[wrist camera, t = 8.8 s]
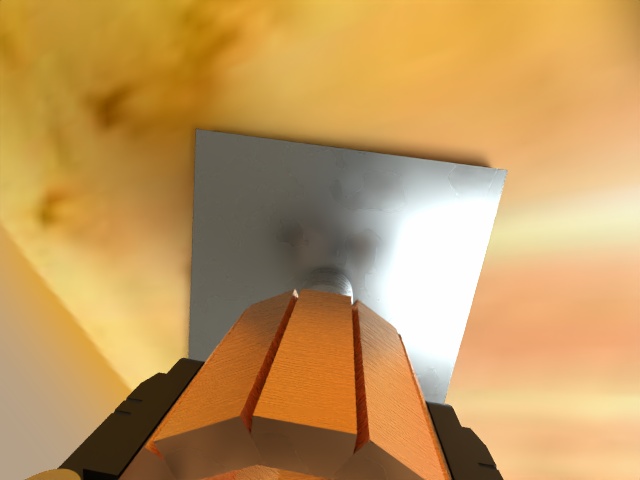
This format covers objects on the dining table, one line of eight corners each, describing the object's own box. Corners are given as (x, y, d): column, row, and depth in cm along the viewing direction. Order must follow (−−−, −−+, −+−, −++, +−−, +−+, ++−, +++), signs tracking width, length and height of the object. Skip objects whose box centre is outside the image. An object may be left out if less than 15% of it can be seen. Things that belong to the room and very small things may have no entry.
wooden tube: (223, 275, 9) (92, 386, 5) (433, 309, 9) (534, 467, 4) (212, 444, 11) (106, 661, 6) (392, 478, 11) (432, 737, 6)
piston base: (208, 132, 17) (118, 107, 10) (493, 170, 16) (598, 169, 9) (198, 372, 21) (127, 470, 14) (429, 413, 20) (472, 538, 13)
